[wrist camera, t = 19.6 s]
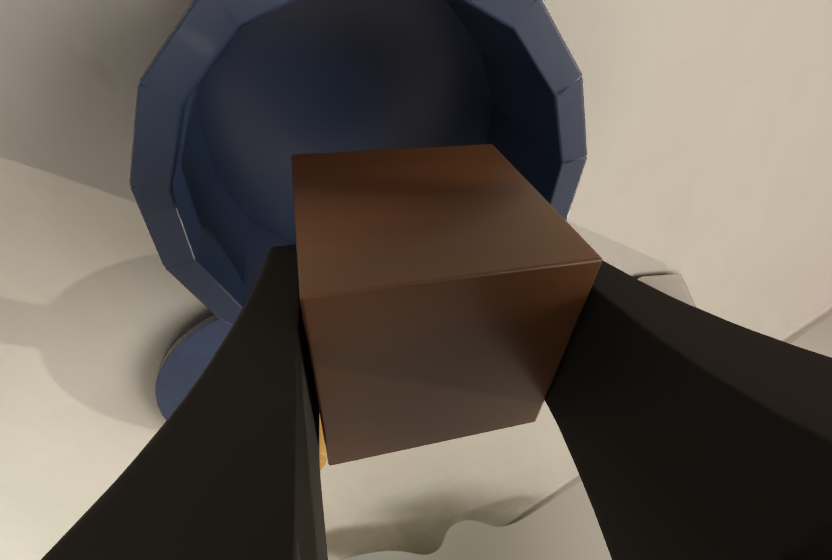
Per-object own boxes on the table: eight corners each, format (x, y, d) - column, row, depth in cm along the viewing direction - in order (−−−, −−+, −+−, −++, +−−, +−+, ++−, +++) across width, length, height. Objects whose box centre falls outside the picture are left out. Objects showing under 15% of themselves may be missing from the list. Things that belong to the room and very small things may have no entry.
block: (313, 310, 11) (328, 466, 8) (290, 153, 8) (299, 298, 5) (467, 289, 12) (535, 422, 9) (492, 143, 9) (604, 259, 6)
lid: (200, 457, 25) (187, 551, 22) (115, 306, 17) (71, 413, 14) (403, 417, 28) (423, 493, 24) (411, 271, 20) (442, 351, 16)
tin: (225, 276, 18) (211, 379, 14) (111, -89, 10) (8, -94, 6) (481, 247, 20) (532, 327, 16) (538, -62, 13) (656, -54, 9)
